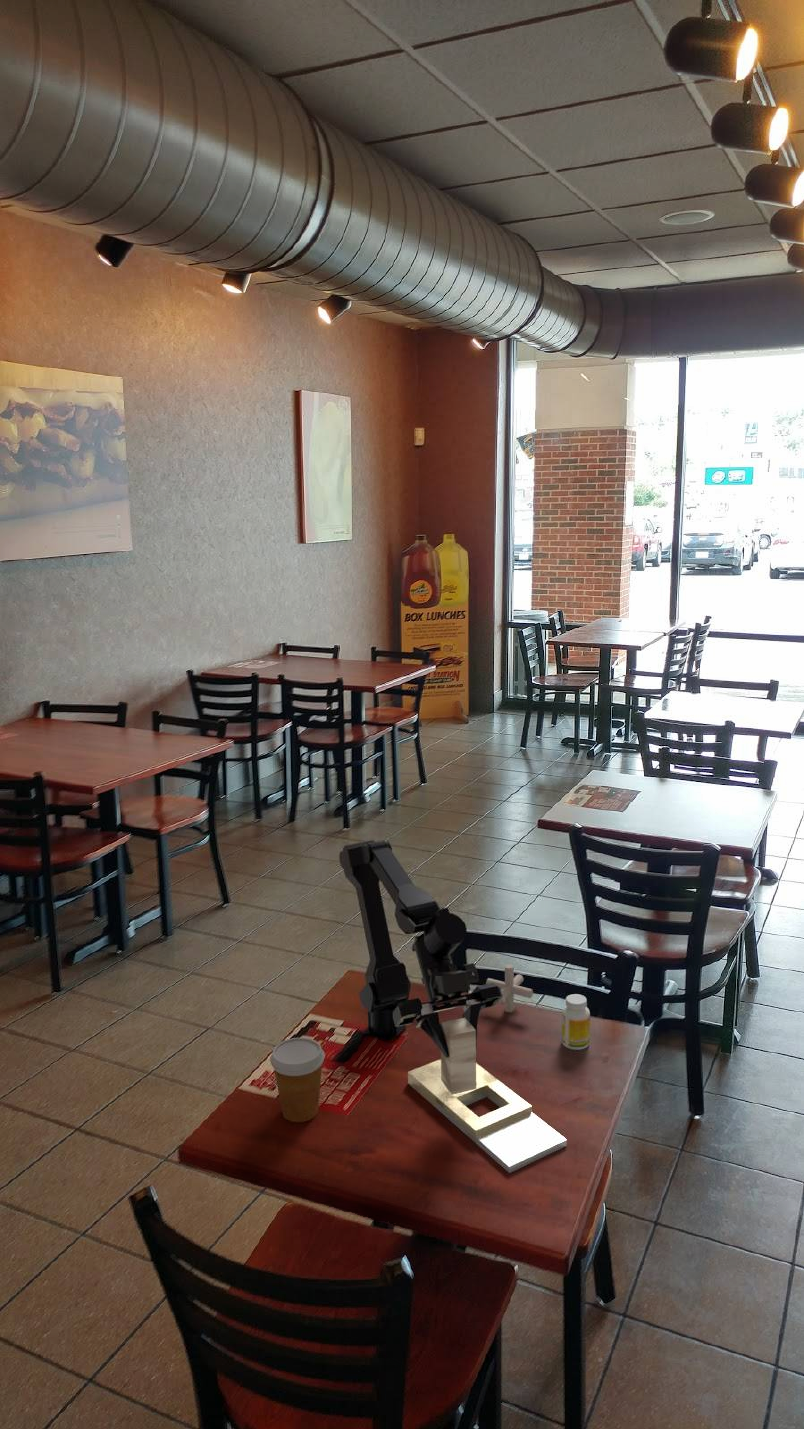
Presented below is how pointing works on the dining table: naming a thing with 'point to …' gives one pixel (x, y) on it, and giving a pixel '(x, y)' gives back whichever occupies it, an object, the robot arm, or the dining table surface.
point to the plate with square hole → (490, 1117)
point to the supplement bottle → (575, 1022)
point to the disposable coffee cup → (298, 1077)
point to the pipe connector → (511, 987)
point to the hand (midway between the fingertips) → (461, 1053)
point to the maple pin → (459, 1056)
